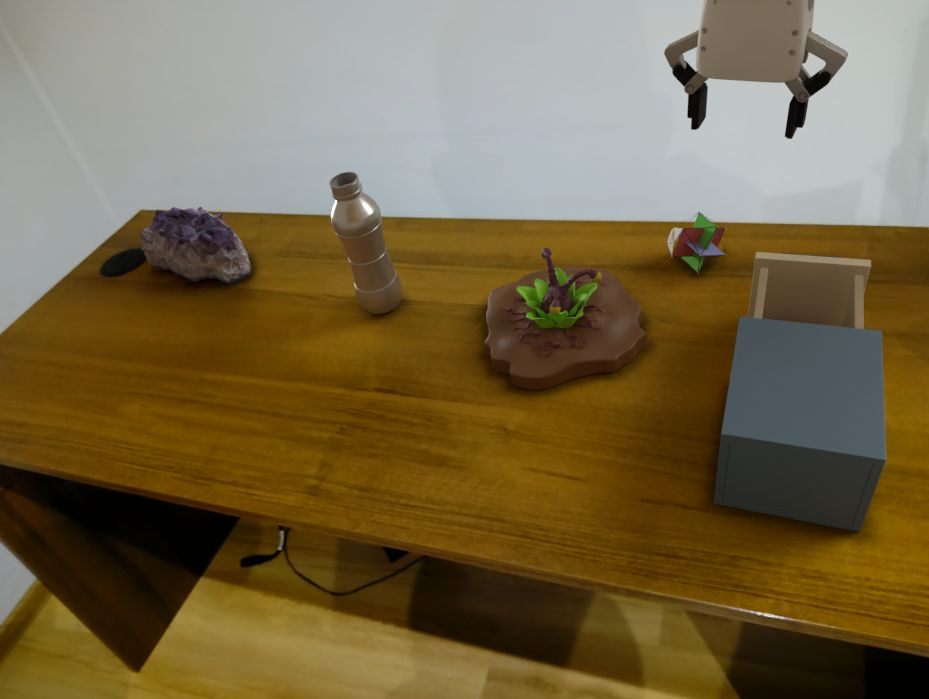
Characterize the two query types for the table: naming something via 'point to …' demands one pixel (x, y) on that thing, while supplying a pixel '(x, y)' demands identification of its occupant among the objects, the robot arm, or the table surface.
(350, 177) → the plastic bottle
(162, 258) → the geode
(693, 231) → the geometric puzzle
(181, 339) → the table surface
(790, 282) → the drawer
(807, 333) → the cabinet
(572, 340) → the plant
